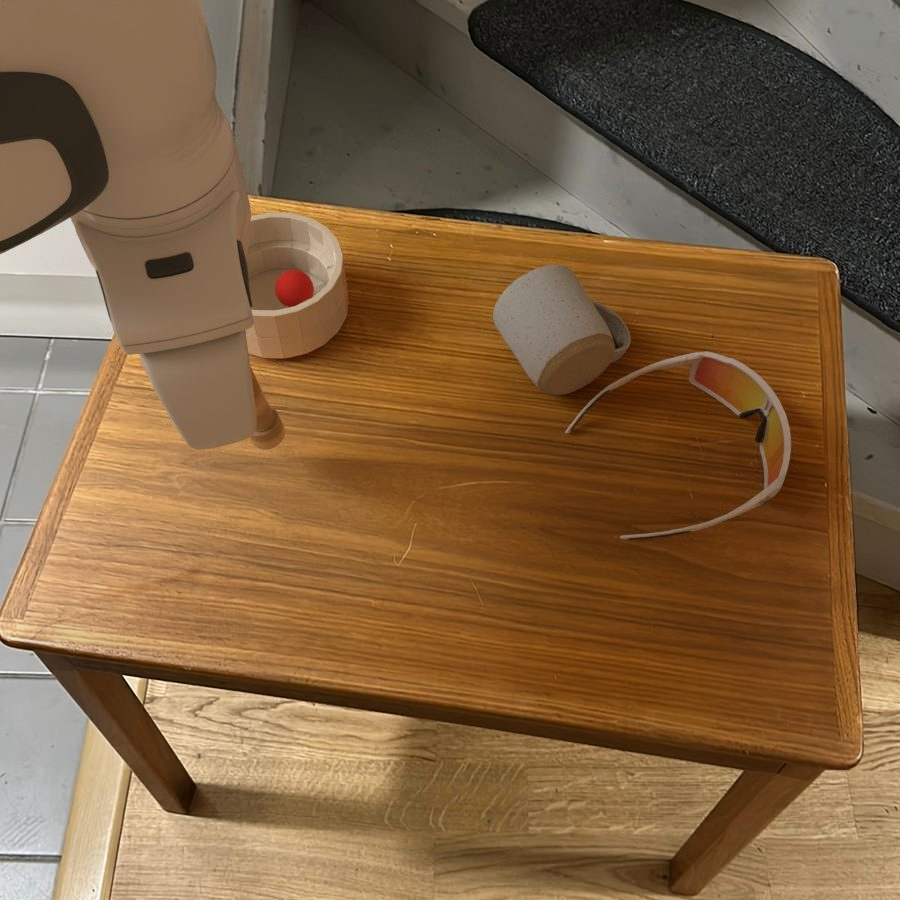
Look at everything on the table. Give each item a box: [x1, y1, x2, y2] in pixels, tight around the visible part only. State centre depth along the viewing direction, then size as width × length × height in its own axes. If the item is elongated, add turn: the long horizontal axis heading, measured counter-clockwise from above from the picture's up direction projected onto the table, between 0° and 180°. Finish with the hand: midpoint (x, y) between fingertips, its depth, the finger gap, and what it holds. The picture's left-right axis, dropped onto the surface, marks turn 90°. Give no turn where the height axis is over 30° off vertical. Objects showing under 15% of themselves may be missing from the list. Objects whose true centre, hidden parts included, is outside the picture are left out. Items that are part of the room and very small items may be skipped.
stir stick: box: [248, 365, 286, 451], centre depth 59 cm, size 3×3×20 cm
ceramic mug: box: [492, 264, 632, 396], centre depth 74 cm, size 11×8×8 cm
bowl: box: [245, 211, 350, 359], centre depth 77 cm, size 11×11×6 cm
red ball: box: [275, 270, 314, 307], centre depth 78 cm, size 3×3×3 cm
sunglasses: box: [564, 351, 792, 541], centre depth 70 cm, size 14×15×5 cm
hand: (215, 362), depth 59 cm, fingers closed on stir stick, 2 cm apart
